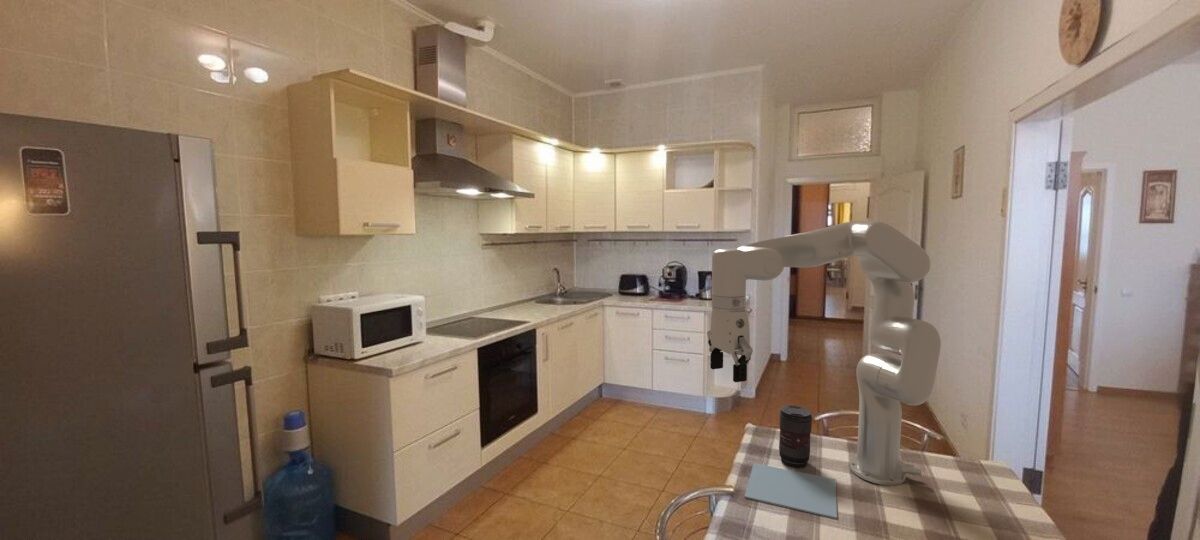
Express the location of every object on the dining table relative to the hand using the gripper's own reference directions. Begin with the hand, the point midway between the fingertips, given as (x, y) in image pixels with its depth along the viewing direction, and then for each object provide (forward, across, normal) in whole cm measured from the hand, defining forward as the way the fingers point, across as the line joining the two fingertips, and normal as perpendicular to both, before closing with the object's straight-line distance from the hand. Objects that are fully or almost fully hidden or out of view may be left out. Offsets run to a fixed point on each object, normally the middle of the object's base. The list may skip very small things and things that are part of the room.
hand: (727, 374), depth 110 cm
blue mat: (+31, -2, -17) cm, 35 cm away
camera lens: (+31, +9, -27) cm, 42 cm away
